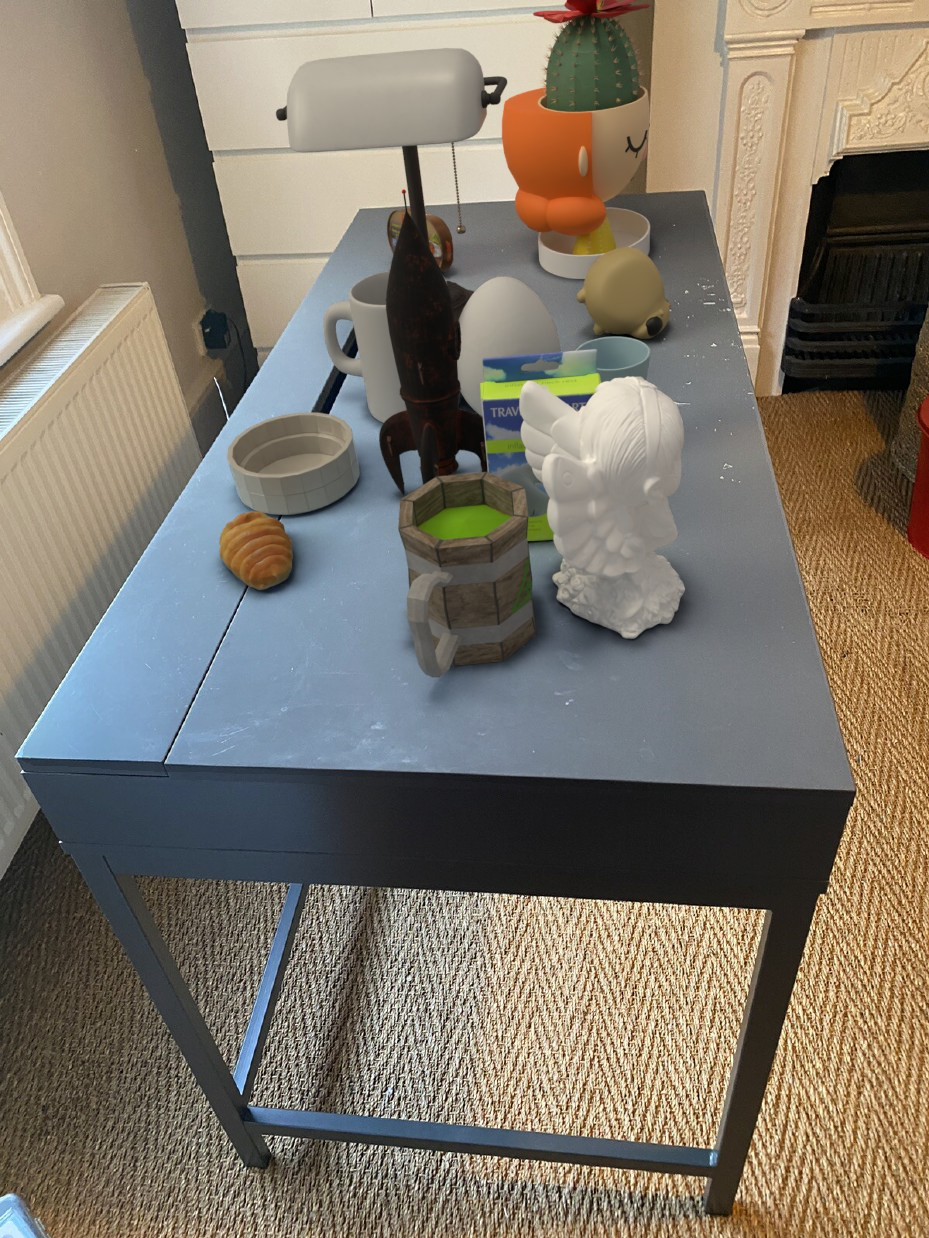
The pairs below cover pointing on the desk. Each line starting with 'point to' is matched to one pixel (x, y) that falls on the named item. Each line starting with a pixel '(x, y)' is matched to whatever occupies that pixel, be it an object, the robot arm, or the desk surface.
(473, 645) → the mug
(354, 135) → the lamp
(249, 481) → the bowl
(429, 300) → the toy rocket
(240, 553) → the pastry
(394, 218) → the tin
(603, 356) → the cup
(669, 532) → the cherub figurine
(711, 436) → the desk surface
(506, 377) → the box
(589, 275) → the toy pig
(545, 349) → the decorative egg
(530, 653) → the desk surface
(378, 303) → the mug
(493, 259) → the desk surface
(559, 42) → the potted cactus
